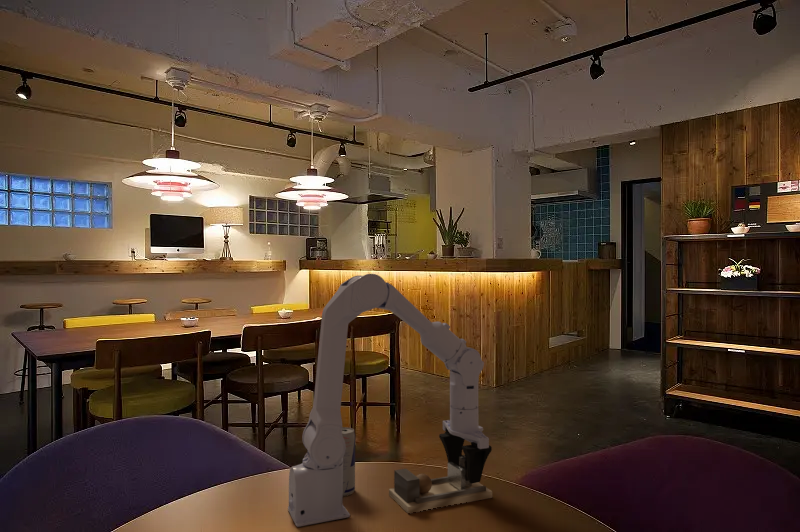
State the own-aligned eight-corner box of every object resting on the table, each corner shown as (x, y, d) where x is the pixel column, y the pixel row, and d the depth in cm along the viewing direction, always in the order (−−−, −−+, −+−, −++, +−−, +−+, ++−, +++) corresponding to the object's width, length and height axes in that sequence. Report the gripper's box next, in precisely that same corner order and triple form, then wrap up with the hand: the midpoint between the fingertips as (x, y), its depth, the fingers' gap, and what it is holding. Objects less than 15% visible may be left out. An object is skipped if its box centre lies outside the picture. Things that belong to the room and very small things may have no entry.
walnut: (418, 498, 92) (418, 478, 92) (410, 491, 95) (410, 472, 95) (435, 495, 93) (435, 475, 94) (426, 488, 97) (426, 469, 97)
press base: (408, 513, 88) (408, 484, 88) (388, 495, 96) (389, 468, 97) (492, 497, 95) (492, 470, 96) (467, 481, 103) (467, 456, 104)
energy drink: (357, 487, 100) (357, 427, 101) (352, 497, 95) (352, 434, 96) (331, 486, 101) (332, 426, 102) (324, 496, 96) (325, 433, 96)
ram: (460, 490, 95) (460, 462, 95) (447, 481, 99) (447, 454, 100) (476, 488, 96) (476, 459, 96) (462, 478, 101) (462, 452, 101)
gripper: (501, 412, 94) (502, 485, 93) (462, 398, 107) (463, 461, 106) (470, 415, 91) (470, 490, 90) (433, 400, 104) (434, 466, 104)
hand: (464, 475), depth 98 cm, fingers open, 7 cm apart
